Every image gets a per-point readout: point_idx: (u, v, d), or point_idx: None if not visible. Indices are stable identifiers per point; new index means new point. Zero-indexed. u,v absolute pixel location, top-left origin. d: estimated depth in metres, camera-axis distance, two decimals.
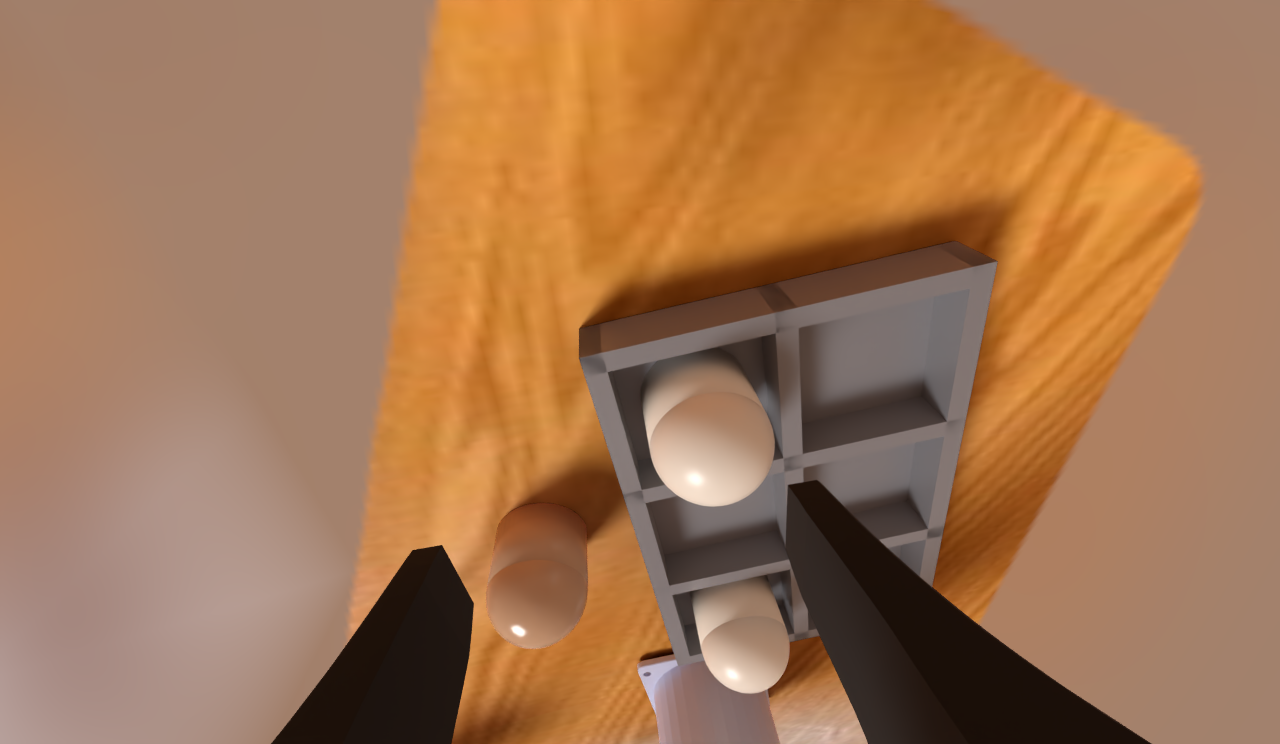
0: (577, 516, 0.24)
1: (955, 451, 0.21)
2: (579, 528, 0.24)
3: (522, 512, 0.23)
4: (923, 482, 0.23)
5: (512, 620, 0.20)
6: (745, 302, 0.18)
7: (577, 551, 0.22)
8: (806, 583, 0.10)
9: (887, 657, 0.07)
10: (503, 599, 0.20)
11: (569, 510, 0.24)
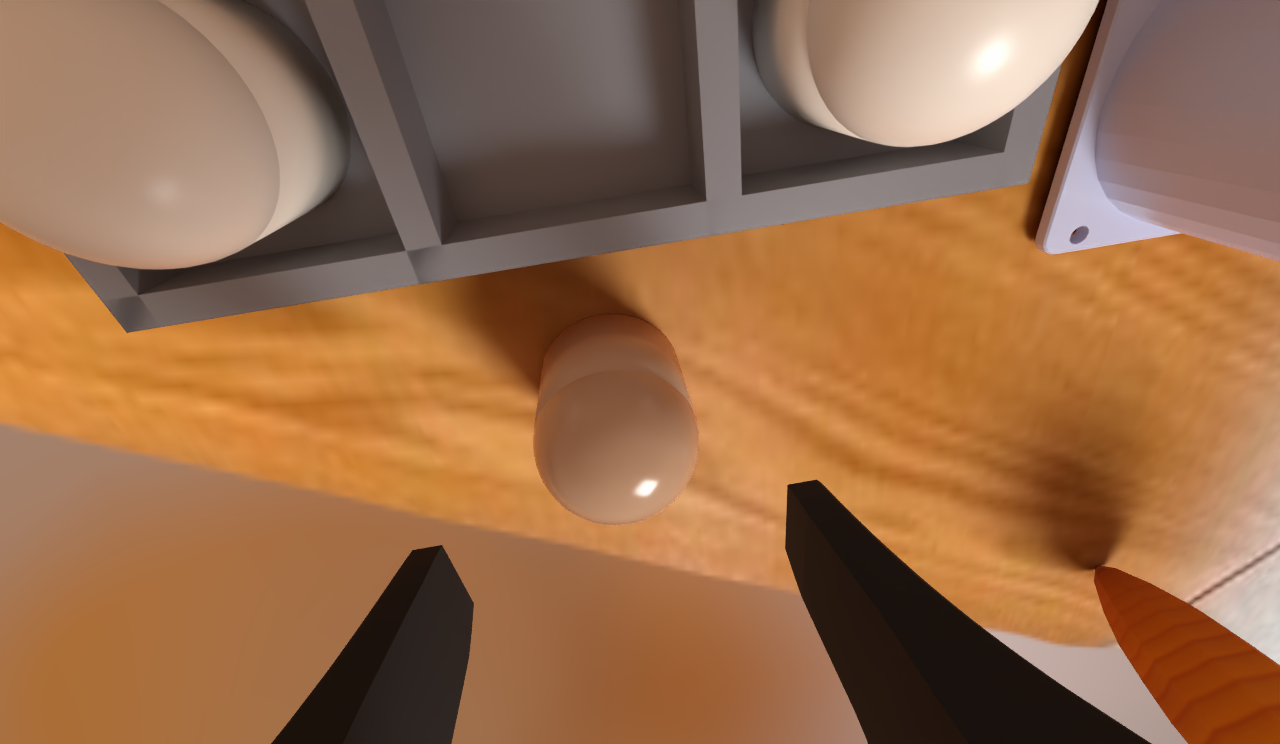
0: (572, 326, 0.15)
1: None
2: (578, 333, 0.14)
3: None
4: None
5: (580, 512, 0.12)
6: None
7: (572, 361, 0.13)
8: (806, 583, 0.10)
9: (887, 657, 0.07)
10: (561, 504, 0.13)
11: (558, 336, 0.15)
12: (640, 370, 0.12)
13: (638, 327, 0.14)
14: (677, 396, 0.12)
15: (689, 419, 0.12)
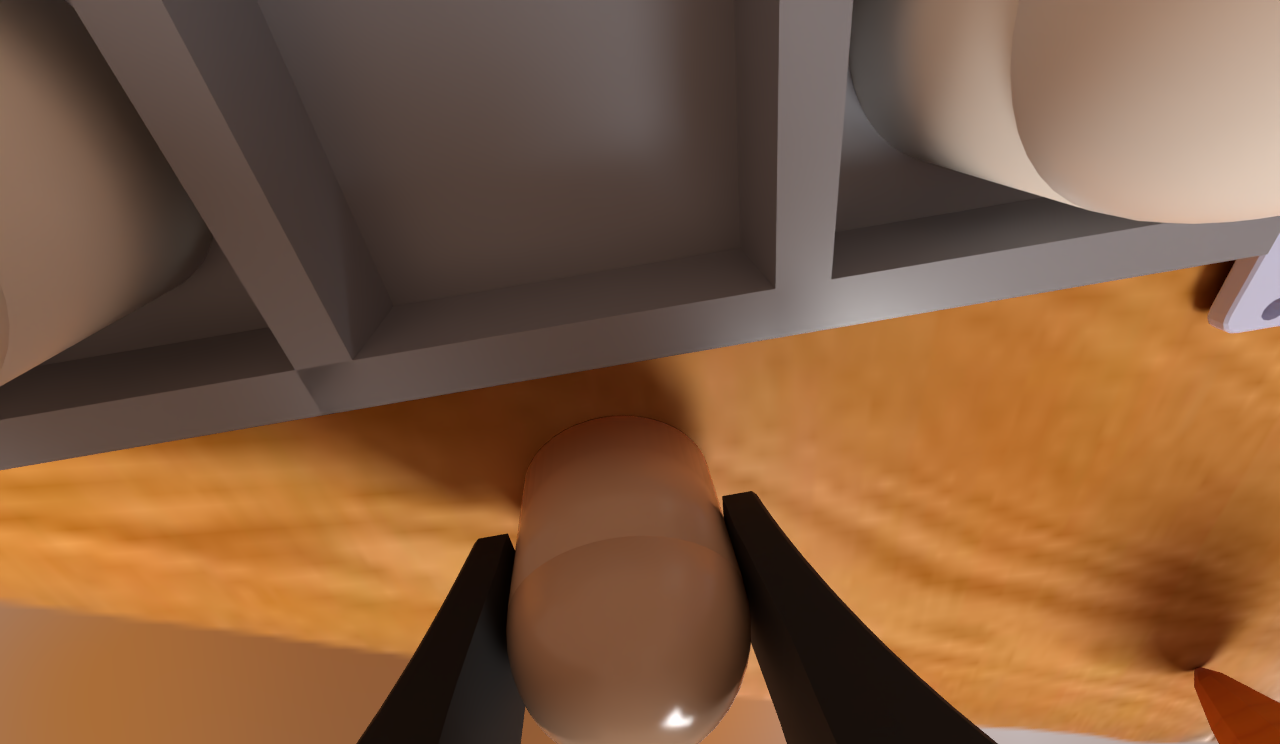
0: (564, 435, 0.11)
1: None
2: (572, 450, 0.10)
3: None
4: None
5: None
6: None
7: (563, 506, 0.09)
8: None
9: (795, 673, 0.07)
10: None
11: (545, 446, 0.11)
12: (666, 531, 0.08)
13: (657, 438, 0.10)
14: (722, 570, 0.08)
15: (740, 606, 0.08)
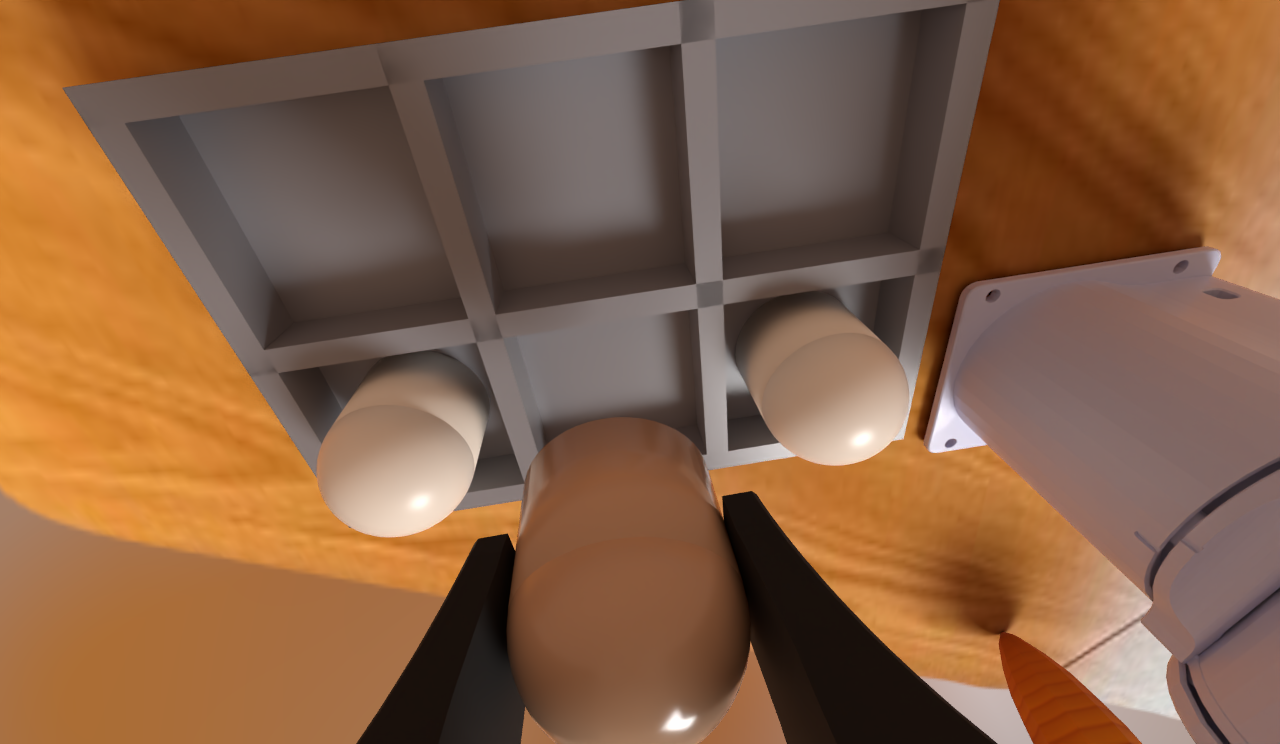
0: (564, 436, 0.11)
1: (461, 41, 0.11)
2: (572, 451, 0.10)
3: None
4: (579, 58, 0.12)
5: None
6: None
7: (563, 508, 0.09)
8: None
9: (795, 673, 0.07)
10: None
11: (545, 448, 0.11)
12: (665, 532, 0.08)
13: (657, 440, 0.10)
14: (721, 572, 0.08)
15: (740, 607, 0.08)
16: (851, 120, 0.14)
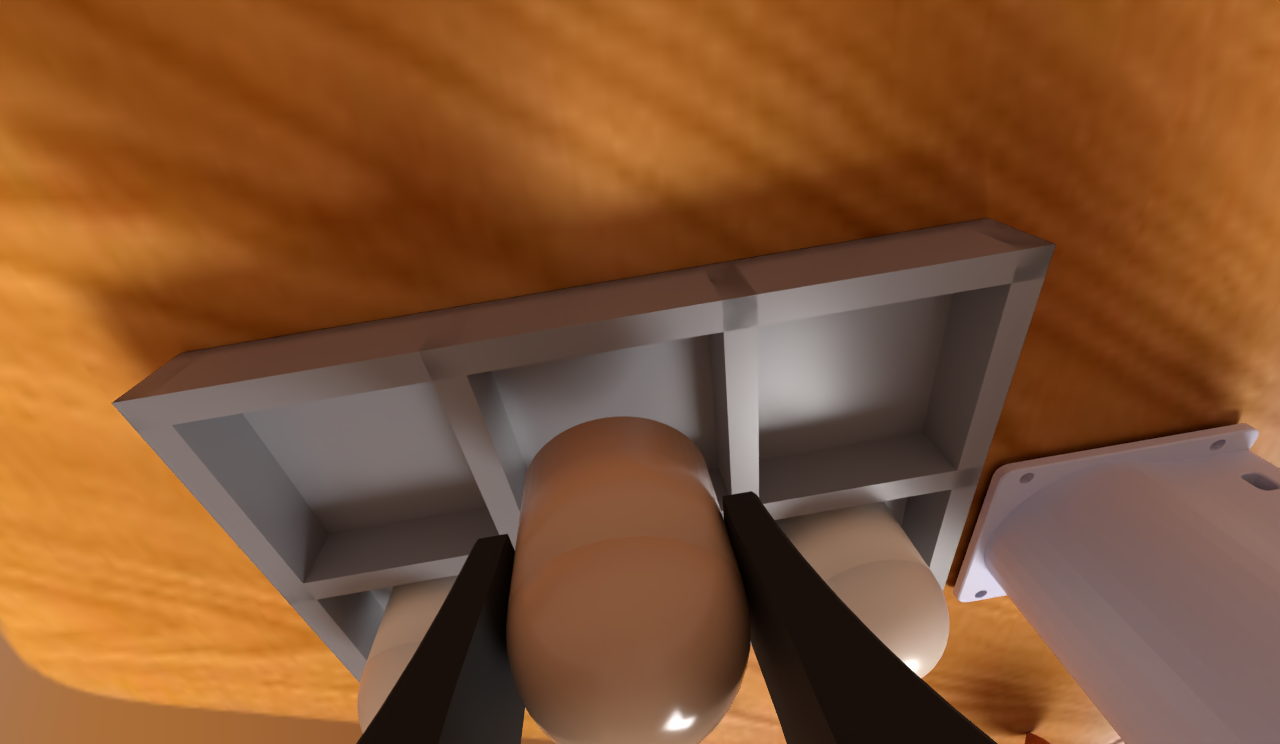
0: (564, 435, 0.11)
1: (504, 343, 0.11)
2: (572, 450, 0.10)
3: None
4: None
5: None
6: None
7: (563, 507, 0.09)
8: None
9: (795, 673, 0.07)
10: None
11: (545, 447, 0.11)
12: (665, 531, 0.08)
13: (657, 439, 0.10)
14: (722, 571, 0.08)
15: (740, 606, 0.08)
16: (887, 347, 0.14)
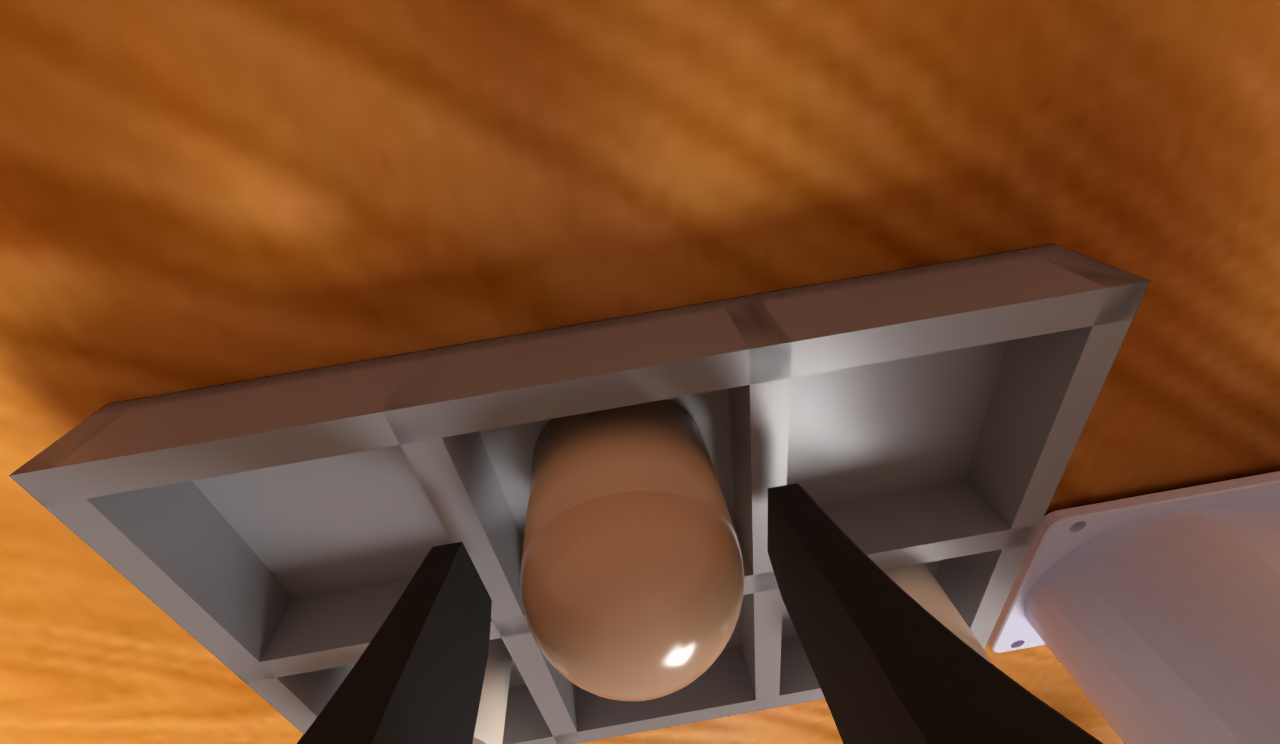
0: None
1: (486, 401, 0.09)
2: (579, 420, 0.11)
3: None
4: None
5: (586, 689, 0.09)
6: None
7: (571, 468, 0.10)
8: (786, 587, 0.10)
9: (859, 662, 0.07)
10: None
11: (553, 419, 0.12)
12: (666, 488, 0.09)
13: (657, 410, 0.11)
14: (717, 523, 0.09)
15: (734, 555, 0.09)
16: (932, 390, 0.12)
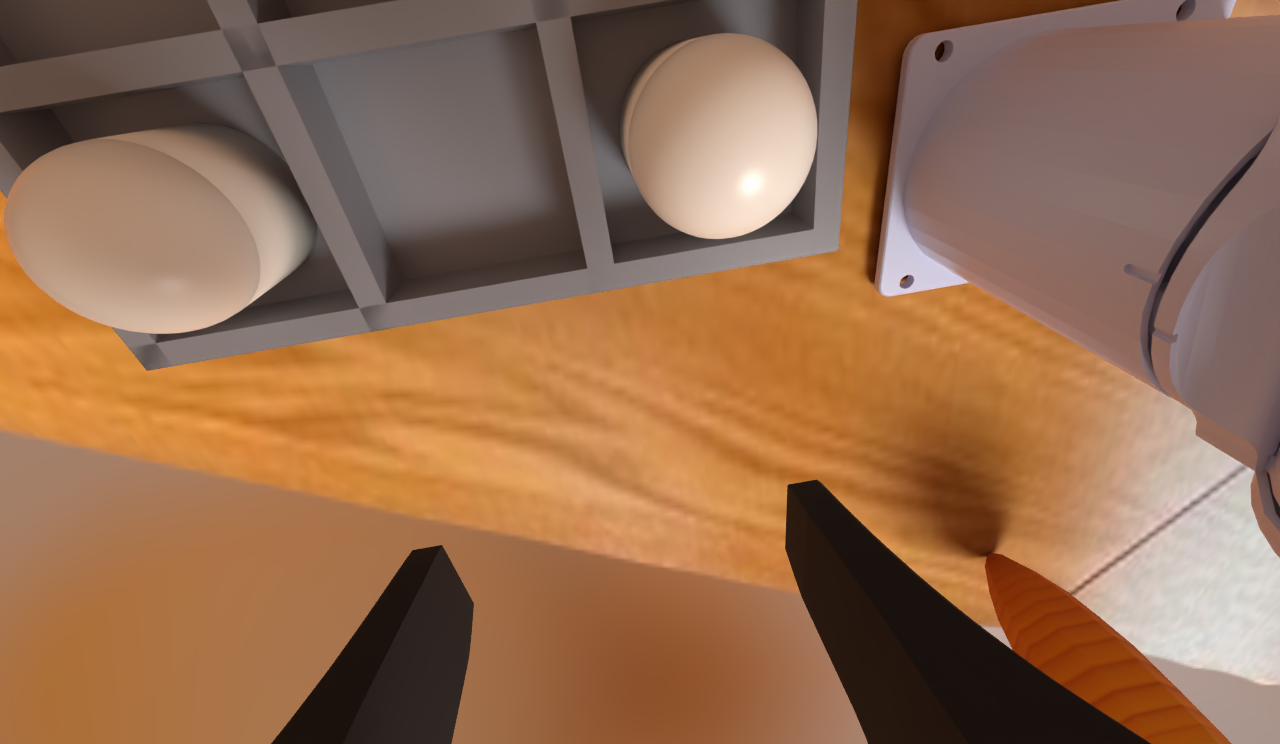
0: None
1: None
2: None
3: None
4: None
5: None
6: None
7: None
8: (806, 583, 0.10)
9: (887, 657, 0.07)
10: None
11: None
12: None
13: None
14: None
15: None
16: None
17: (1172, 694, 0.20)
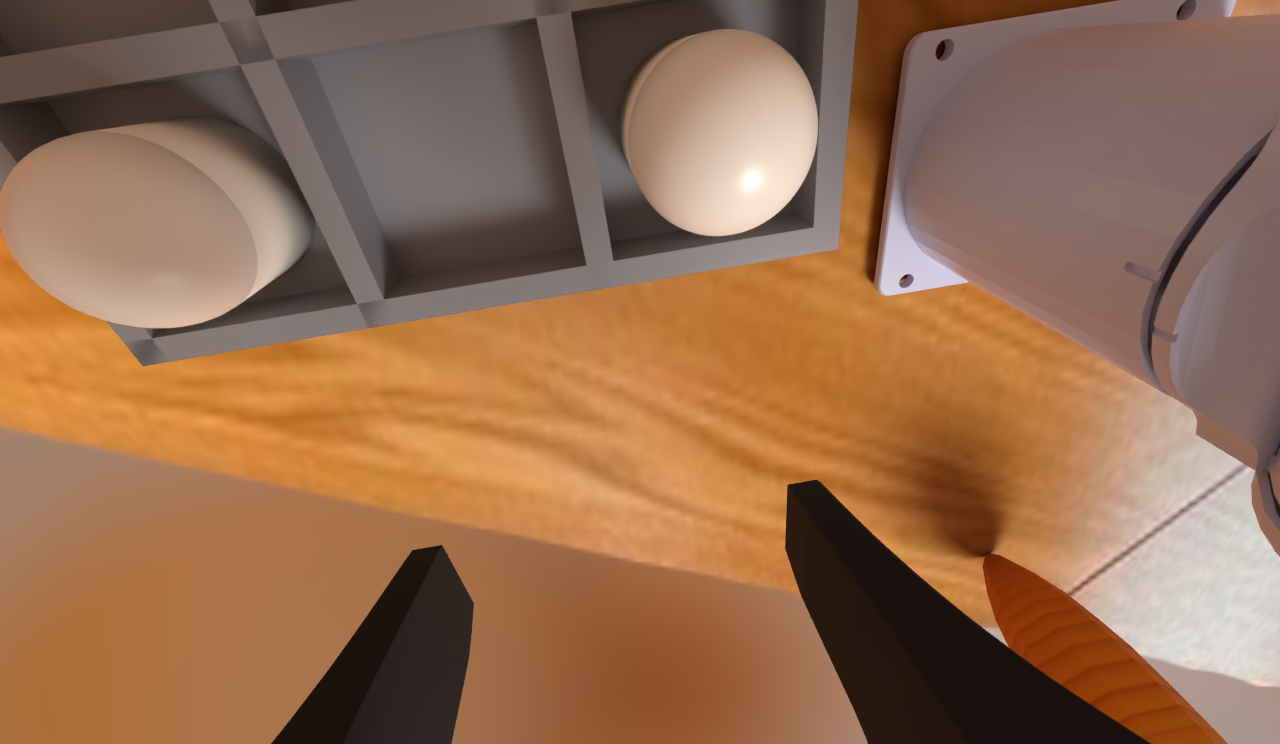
0: None
1: None
2: None
3: None
4: None
5: None
6: None
7: None
8: (806, 583, 0.10)
9: (887, 657, 0.07)
10: None
11: None
12: None
13: None
14: None
15: None
16: None
17: (1169, 695, 0.20)
